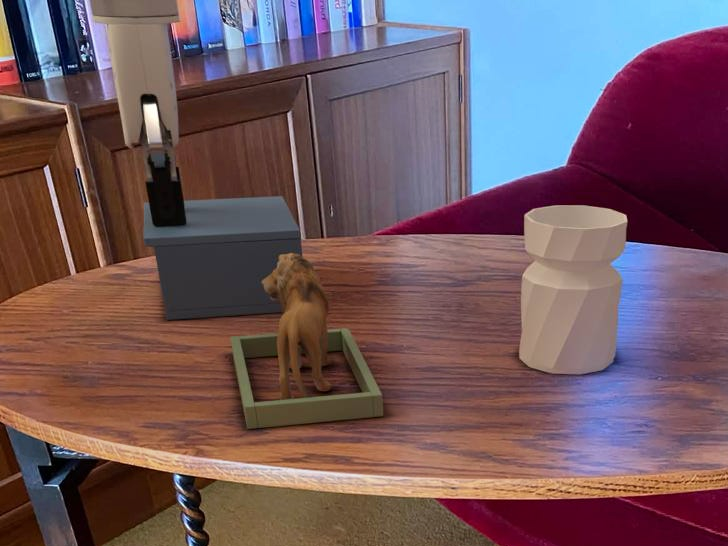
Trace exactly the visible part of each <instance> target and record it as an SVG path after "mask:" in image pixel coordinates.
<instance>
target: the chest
mask: <svg viewBox="0 0 728 546" xmlns="http://www.w3.org/2000/svg"><path fill="white" fill-rule="evenodd" d="M302 246H303V245H302V238H297V239H279V240H261V241H244V242H226V243H208V244H190V245H172V246H154V247H153V250H154V256H155V262H156V267H157V273H158V278H159V284H160V289H161V296H162V301H163V306H164V313H165V318H166V320H167V321H175V320H189V319H203V318H215V317H216V318H219V317H233V316H246V315H247V316H248V315H261V314H262V315H263V314H276V313H283V312H282V307H281V304H280V302H279V300H275V301H273V300H272V299H271V297H270V294H269V293H267V292H266V291H265V289H264V285H263V284H262V280H264V279H265V278H266V277H268V276H269V275H270V274H272V272H273V270H275V269H276V268H277V266H278V265H277V263H278V262H279V256H280V255H283V254H289V253H294V254H299V255H300V256H302V257H303V247H302ZM303 258H304V257H303Z"/></svg>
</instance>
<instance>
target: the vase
mask: <svg viewBox="0 0 728 546" xmlns="http://www.w3.org/2000/svg"><path fill="white" fill-rule="evenodd" d="M523 219H524V220H523V228H524V229H523V235H524V237H523V238H524V248H525V252H526V253H527V254H528V255H529V256H530V257H531V258H532V260H534V261H533V262H532V263H531V264H530V265H529V266H527V267H526V269H525V270H524V271H523V274H522V277H521V287H520V289H521V290H520V291H521V292H520V314H521V315H520V317H521V335H520V340H519V341H520V342H519V349H518V359H519V360H520V361H521V362H523V364H525V365H526V366H527V367H529V368H530V369H531V368H532V369H533V370H534V369H535V370H538V371H542V372H546V373H549V374H555V375H558V374H559V375H579V376H580V375H584V374H590V373H595V372H599V371H604V370H605V369H606V368H607V367H609V366H610V365H611V364H612V363H614V358H616V350H617V349H616V348H617V343H618V342H617V340H618V328H619V327H618V326H619V325H618V324H619V307H620V300H621V295H622V289H623V281H624V278H623V277H622V275H621V274H620V272H619V271H618V270H617V269H616V268H615V267H614V266H613V265H612V263H613V262H615V261H616V259H618V258H620V257H621V256H622V254H623V253H624V252H625V250H626V246H627V245H626V244H627V242H626V241H627V227H628V218H627V214H624V213H622V212H619V211H617V210H614V209H611V208H606V207H598V206H590V205H550V206H543V207H537V208H532V209H531V210H529V211H528V212H526V213H524V216H523Z"/></svg>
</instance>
